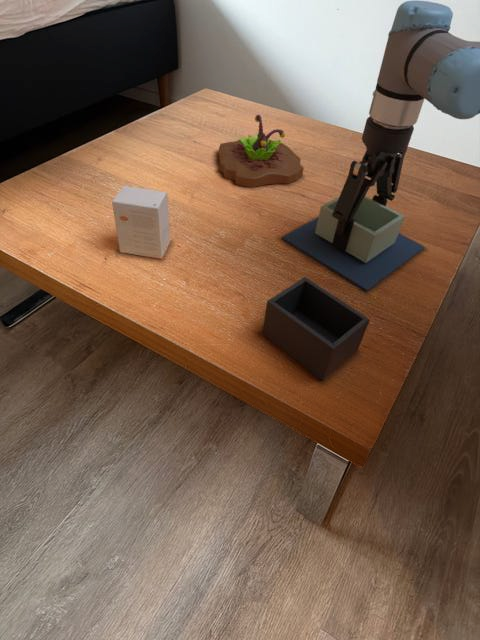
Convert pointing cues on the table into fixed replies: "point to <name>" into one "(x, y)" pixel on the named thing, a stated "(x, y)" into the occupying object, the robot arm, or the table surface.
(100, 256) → the table surface
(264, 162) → the plant
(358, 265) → the mat
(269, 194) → the table surface
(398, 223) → the green open bin
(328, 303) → the bin lower
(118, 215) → the small box
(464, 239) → the table surface
